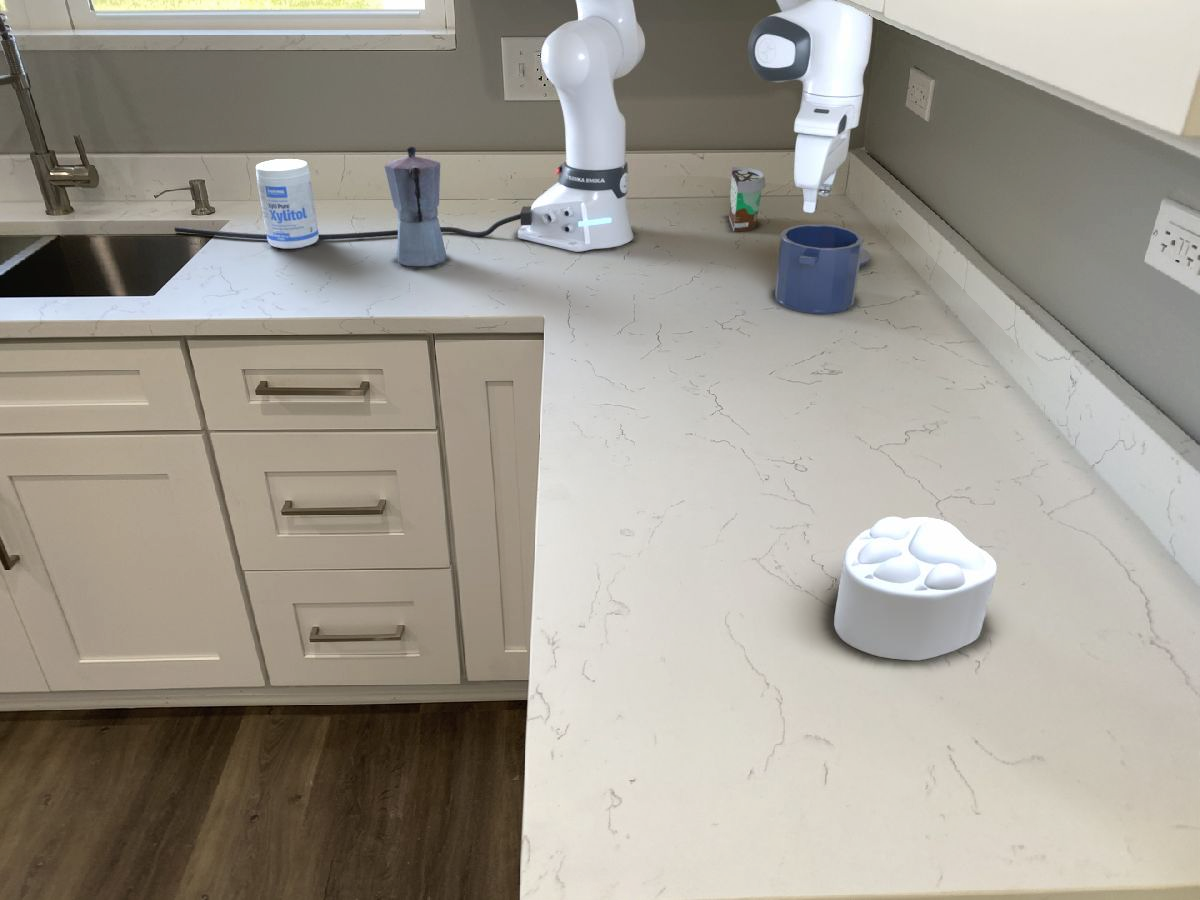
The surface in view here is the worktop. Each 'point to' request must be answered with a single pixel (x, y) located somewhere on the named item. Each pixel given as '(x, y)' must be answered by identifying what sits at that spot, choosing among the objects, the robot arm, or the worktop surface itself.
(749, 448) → the worktop surface
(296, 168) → the supplement tub
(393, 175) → the moka pot
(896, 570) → the lumpy-topped squat cylinder
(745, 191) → the food container
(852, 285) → the pot
